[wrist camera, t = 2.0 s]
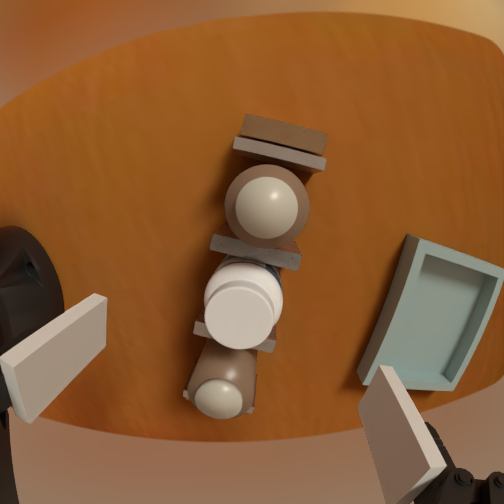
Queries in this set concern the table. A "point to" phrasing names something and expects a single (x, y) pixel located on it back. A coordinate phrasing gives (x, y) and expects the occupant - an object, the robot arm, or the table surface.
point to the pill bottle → (242, 302)
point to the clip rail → (281, 153)
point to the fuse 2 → (266, 206)
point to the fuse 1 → (223, 380)
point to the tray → (432, 316)
